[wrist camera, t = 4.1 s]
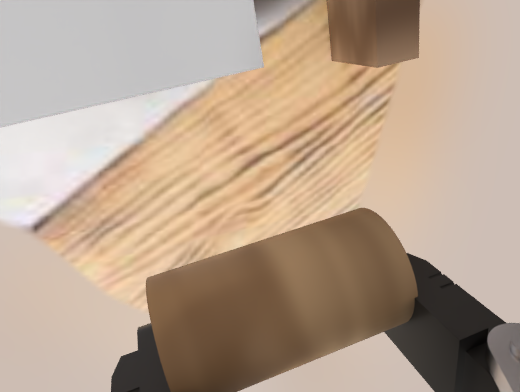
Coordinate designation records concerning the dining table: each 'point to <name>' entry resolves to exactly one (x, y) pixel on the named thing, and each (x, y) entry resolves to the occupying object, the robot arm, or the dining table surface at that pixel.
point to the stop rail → (373, 31)
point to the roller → (279, 302)
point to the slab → (116, 50)
